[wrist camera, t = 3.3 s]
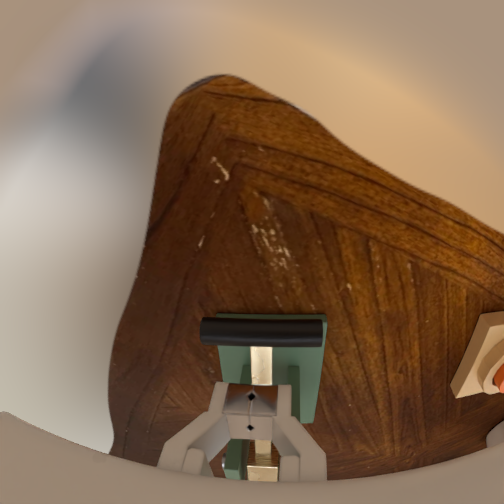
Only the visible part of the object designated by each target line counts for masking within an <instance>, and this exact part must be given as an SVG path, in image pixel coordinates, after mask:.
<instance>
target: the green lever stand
mask: <svg viewBox="0 0 504 504" xmlns="http://www.w3.org/2000/svg"><path fill="white" fill-rule="evenodd" d="M216 317H220V318H255V319H322V321H323V343H322V346H321V347H273V384H276V385H291V416H295V417H296V419H297V420H298V421H299V422H300V423H313V420H314V414H315V409H316V403H317V397H318V390H319V384H320V377H321V370H322V363H323V355H324V347H325V339H326V331H327V318H326V315H263V314H223V313H217V315H216ZM218 351H219V357H220V364H221V370H222V377H223V382H226V383H240V384H252V379H251V357H250V347H243V346H221V345H218ZM230 439H231V440H230V441H229V442H228V448H227V453H224V454H223V458H222V468H223V469H224V472H225V475H226V479H237V480H245V473H246V465H247V458H248V451H249V443H250V439H232V438H230Z"/></svg>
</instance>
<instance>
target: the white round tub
mask: <svg viewBox="0 0 504 504" xmlns="http://www.w3.org/2000/svg"><path fill="white" fill-rule="evenodd" d="M502 442H504V421H502V422H501V423H499V424H498V425H497V426H496V427H494V428H493V429H492V430H491V431H490V432H489V434H488V435H487V437H486V444H487V448H489V447H491V446H494V445H497V444H499V443H502Z"/></svg>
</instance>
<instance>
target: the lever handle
mask: <svg viewBox="0 0 504 504" xmlns="http://www.w3.org/2000/svg"><path fill="white" fill-rule="evenodd" d="M200 340H201V343H202V344H204V345H221V346H243V347H250V357H251V379H252V384H273V347H321V346H322V343H323V321H322V319H255V318H220V317H203V318H202V320H201V323H200ZM279 456H280V453H279V452H278V450H277V448H276V447H275V445H274V444H273V443H272V441H268V440H255V442H250V446H249V452H248V459H247V465H246V466H247V476H248V480H250V481H270V482H278V473H279Z"/></svg>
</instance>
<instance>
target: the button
mask: <svg viewBox="0 0 504 504" xmlns="http://www.w3.org/2000/svg"><path fill="white" fill-rule="evenodd" d="M493 379H494V382H495V384H496V385H497V387H498V389H499V391H500V392H501V393H504V363H503V364H502V366H501V367H500V368H499V369H498V370H497V371H496V373H495V375H494V377H493Z"/></svg>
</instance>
